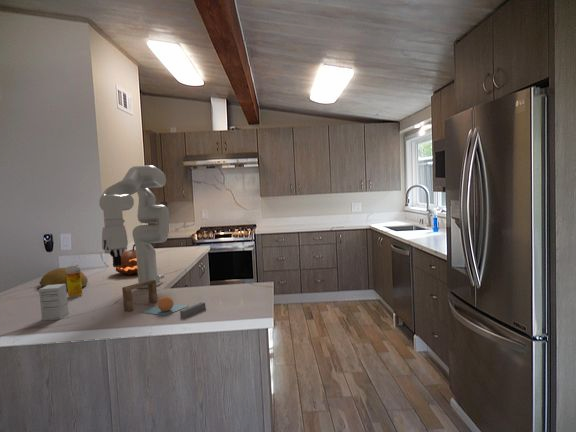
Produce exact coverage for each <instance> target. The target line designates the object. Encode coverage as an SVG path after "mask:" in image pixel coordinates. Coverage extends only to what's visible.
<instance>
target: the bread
mask: <svg viewBox="0 0 576 432" xmlns="http://www.w3.org/2000/svg"><path fill="white" fill-rule="evenodd" d="M80 272H81V283H82V288H83V287H85V286H86V285H87V284H88V278H87V276H86V275H85V274H84V273H83V272H82V271H81V270H80ZM40 284H41V286H42V288H43V287H45V286H47V285H55V284H66V291H68V287H67V276H66V267H58V268H55V269H52V270H49V271H48V272H47V273H45V274H44V275H43V276H42V277H41V279H40Z"/></svg>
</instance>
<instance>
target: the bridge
mask: <svg viewBox="0 0 576 432" xmlns="http://www.w3.org/2000/svg"><path fill="white" fill-rule="evenodd" d="M147 285H148V288H147V294H148V296H147V297H148V303H150V304H155V303H158V292H157V286H156V280H148V281H144V282H141V283H138V282H137V283H133V284H130V285H127V286H123V287H121V288H122V289H121V290H122V299H123V300H122V301H123V311H124V312H128V313H129V312H132V311H134V303H133V293H132V291H133V290H137V289H141V288H140V287H143V286H147Z"/></svg>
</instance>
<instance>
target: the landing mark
mask: <svg viewBox="0 0 576 432" xmlns="http://www.w3.org/2000/svg"><path fill="white" fill-rule="evenodd" d="M189 307H190V306H189V305H184V304H183V305H182V304H174V303H173V307H172V309H171V310H169V311H167V312H163V311H161V310H160V309H159V308H158V305H157V306H155V307H151V308H148V309H147V310H146V309H145V310H143V311H141V313H142V314H150V315H156V316H163V317H165V316H168V315H171V314H173V313H176V312H179V311H181V310H184V309H186V308H189Z"/></svg>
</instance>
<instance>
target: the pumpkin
mask: <svg viewBox="0 0 576 432" xmlns="http://www.w3.org/2000/svg"><path fill="white" fill-rule="evenodd" d="M112 267H113V268H115V271H116V272H117V273H119V274H121V275H131V276H132V275H138V270H137V258H136V248H135V243H134V244H132V249H129V250H125V251H123V253H122V256H121V265H119V266H115V265H113V264H112Z"/></svg>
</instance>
